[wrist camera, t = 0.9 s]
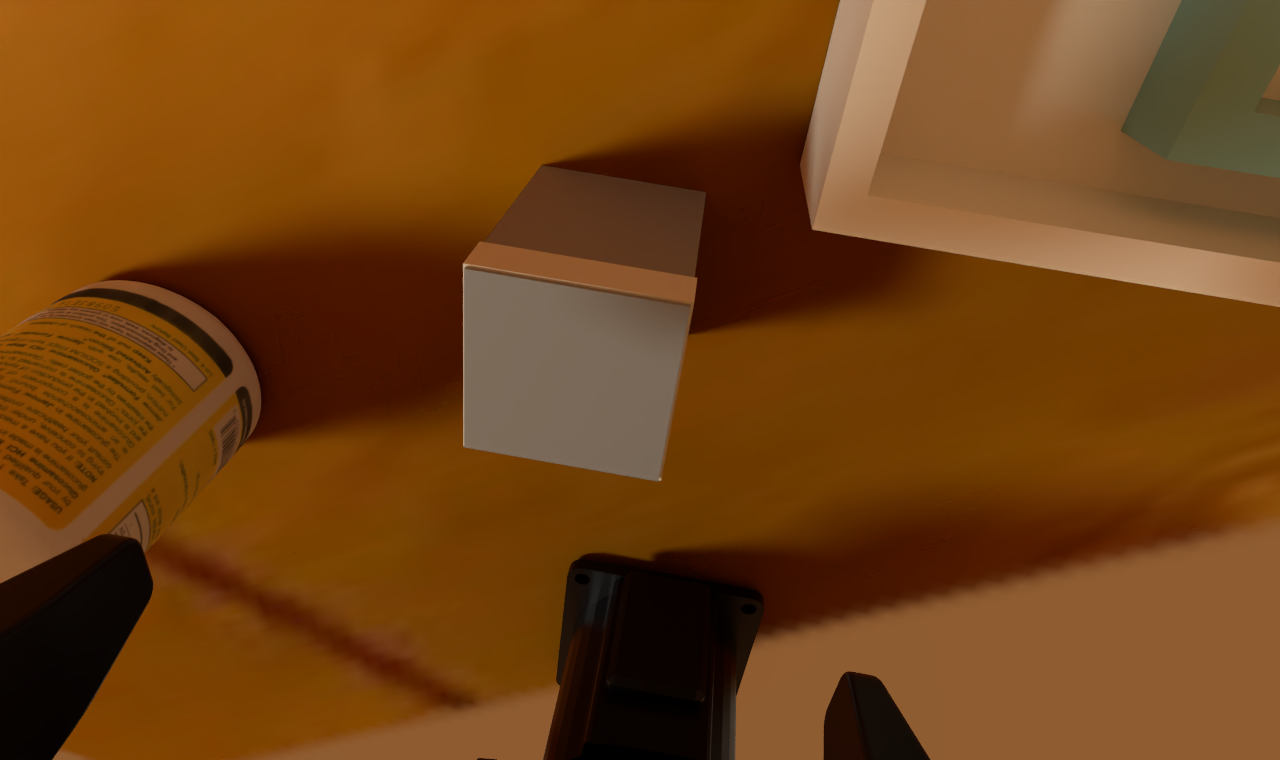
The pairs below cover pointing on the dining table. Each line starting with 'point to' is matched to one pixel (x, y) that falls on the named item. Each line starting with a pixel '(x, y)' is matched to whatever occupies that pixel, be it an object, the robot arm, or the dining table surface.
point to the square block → (581, 322)
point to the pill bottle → (114, 417)
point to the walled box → (1058, 136)
